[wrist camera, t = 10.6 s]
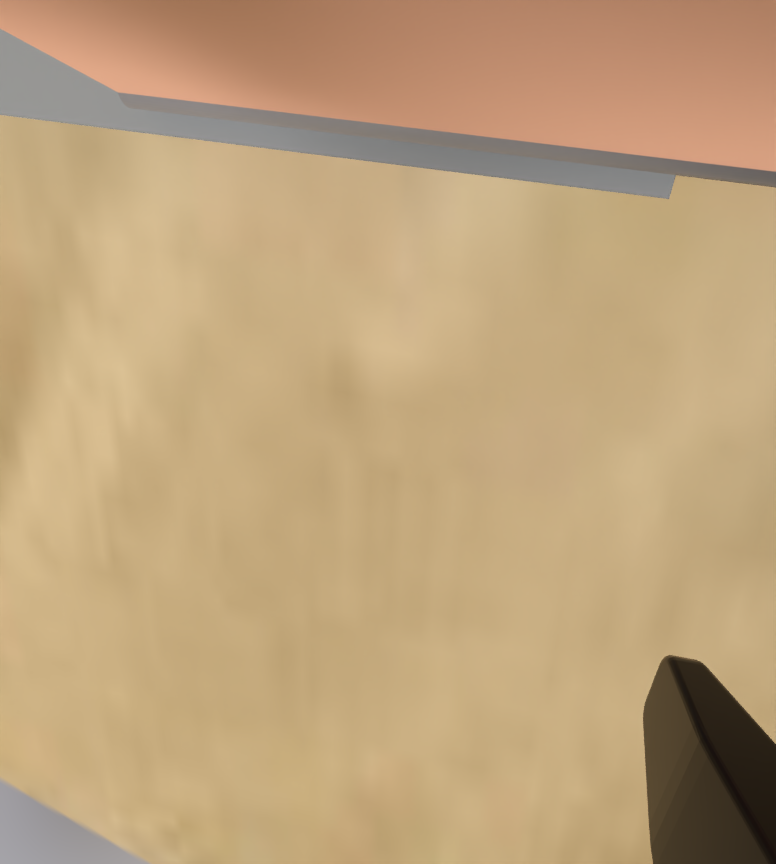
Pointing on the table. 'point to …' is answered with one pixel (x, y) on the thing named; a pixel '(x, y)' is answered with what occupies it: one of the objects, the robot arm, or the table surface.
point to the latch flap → (449, 72)
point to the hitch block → (274, 130)
